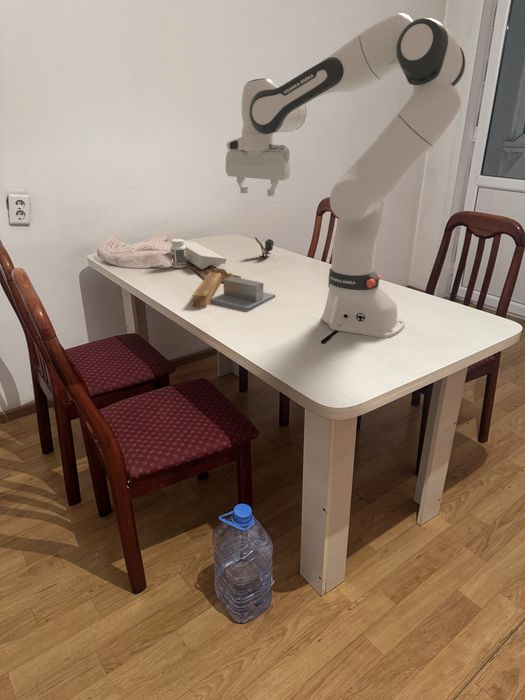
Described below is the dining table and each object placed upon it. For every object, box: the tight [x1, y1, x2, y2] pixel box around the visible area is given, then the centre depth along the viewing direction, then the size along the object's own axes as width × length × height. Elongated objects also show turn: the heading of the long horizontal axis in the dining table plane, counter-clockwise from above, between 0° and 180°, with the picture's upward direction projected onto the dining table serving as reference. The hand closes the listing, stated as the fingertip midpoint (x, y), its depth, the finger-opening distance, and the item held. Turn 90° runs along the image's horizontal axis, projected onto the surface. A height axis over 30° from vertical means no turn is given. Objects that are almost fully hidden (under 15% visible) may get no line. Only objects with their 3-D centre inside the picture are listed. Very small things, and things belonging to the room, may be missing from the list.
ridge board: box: [209, 276, 276, 312], centre depth 156 cm, size 14×15×6 cm
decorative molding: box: [184, 240, 227, 269], centre depth 199 cm, size 34×5×10 cm
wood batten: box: [191, 273, 222, 309], centre depth 161 cm, size 4×24×4 cm, turn 174°
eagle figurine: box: [254, 237, 275, 260], centre depth 201 cm, size 8×7×9 cm
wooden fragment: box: [191, 266, 242, 283], centre depth 180 cm, size 26×11×1 cm, turn 38°
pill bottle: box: [170, 238, 188, 269], centre depth 189 cm, size 6×6×10 cm
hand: (257, 194), depth 150 cm, fingers open, 8 cm apart
